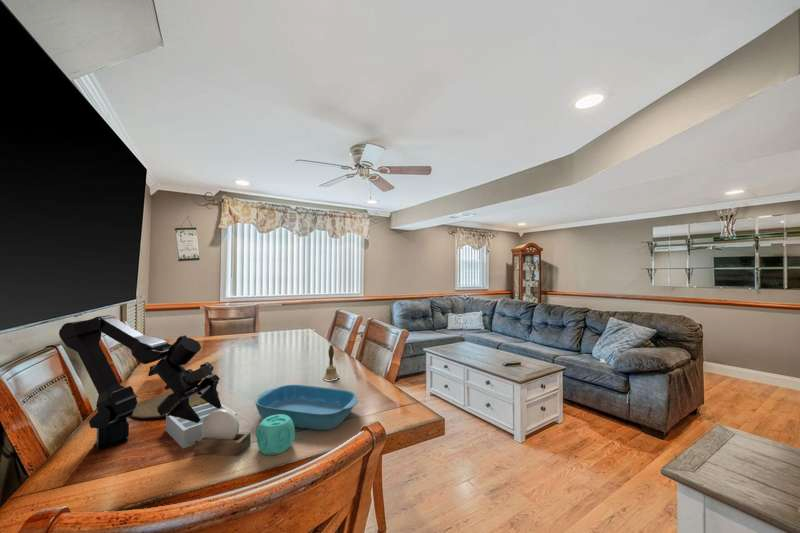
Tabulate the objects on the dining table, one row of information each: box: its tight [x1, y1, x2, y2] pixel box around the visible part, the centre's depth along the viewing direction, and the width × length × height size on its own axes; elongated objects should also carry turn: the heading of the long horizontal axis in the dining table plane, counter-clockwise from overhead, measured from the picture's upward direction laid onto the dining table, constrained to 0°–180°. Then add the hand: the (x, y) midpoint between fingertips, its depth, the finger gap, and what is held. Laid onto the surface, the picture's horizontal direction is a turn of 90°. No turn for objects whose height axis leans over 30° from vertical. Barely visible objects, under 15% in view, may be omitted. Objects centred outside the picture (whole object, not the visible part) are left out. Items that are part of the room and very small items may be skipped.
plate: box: [201, 408, 240, 440], centre depth 92 cm, size 2×10×10 cm, turn 86°
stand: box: [194, 431, 252, 456], centre depth 92 cm, size 13×6×4 cm, turn 86°
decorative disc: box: [130, 390, 220, 420], centre depth 123 cm, size 29×3×30 cm
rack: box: [165, 402, 238, 450], centre depth 103 cm, size 15×17×5 cm
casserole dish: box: [255, 384, 359, 431], centre depth 113 cm, size 37×22×7 cm, turn 76°
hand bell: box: [322, 344, 340, 380], centre depth 154 cm, size 8×8×16 cm
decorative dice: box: [255, 414, 296, 456], centre depth 93 cm, size 8×8×8 cm
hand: (210, 414), depth 92 cm, fingers open, 9 cm apart
